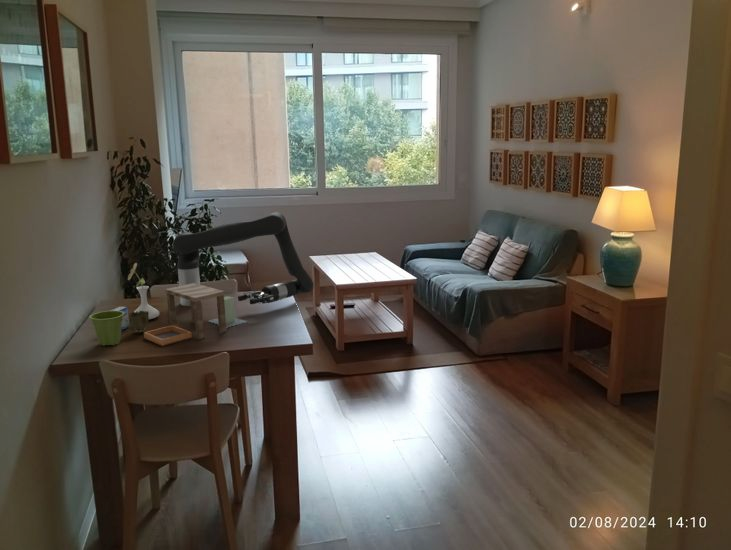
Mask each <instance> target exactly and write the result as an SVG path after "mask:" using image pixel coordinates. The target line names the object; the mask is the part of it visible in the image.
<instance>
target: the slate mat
mask: <svg viewBox="0 0 731 550" xmlns="http://www.w3.org/2000/svg"><path fill="white" fill-rule="evenodd" d="M210 322H211V323H210ZM246 322H248V321H247V320H244V319H241V318H237V317H235V321H233V322H230V323H226V327H227V328H226V329H229V328H228V327H230V328H232V327H231V326H233V327H236V326H235V325H237V326H239V325H238V324H241V325H243V324H242V323H244V324H247V323H246ZM207 323H210V324H213V323H214V324H213V325H216V324H217V326H219V322H218V317H217V318H214V319H209V320H207Z"/></svg>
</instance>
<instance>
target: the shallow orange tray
mask: <svg viewBox="0 0 731 550" xmlns="http://www.w3.org/2000/svg"><path fill="white" fill-rule="evenodd" d="M192 336H193V335H192V332H191V331H189V330H187V329H184V328H181V327H178V326H177V327H176V326H173V325H171V326H170V325H167V326H164V327H160V328H156V329H152V330H148V331H145V332H143V339H144V338H145V339H144V340H146V339H147V341H149V340H150V341H149V342H151V341H152V342H151V343H153V342H154V344H157V345H158V346H161V347H165V346H170V345H173V344H177V343H180V342H184V341H187V340H191V339H192V338H193V337H192ZM190 338H191V339H190ZM186 339H187V340H186ZM183 340H184V341H183ZM179 341H180V342H179ZM176 342H177V343H176Z"/></svg>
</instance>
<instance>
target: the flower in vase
mask: <svg viewBox="0 0 731 550" xmlns="http://www.w3.org/2000/svg"><path fill="white" fill-rule="evenodd" d="M137 266H138V263H137V262H135V263H134V264H133V266H132V268H131V269H130V273H129V274H128V275H127V279H126V280H128V281H130V280H131V279H132V277H133V275H134V274H135V275H136V277H137V278H138V282H137V283H136V286H135V287H136V290H137V291H138V292H139V295H140V304H139V306H138V308H136V309H135V310H134V311H133V312H135V313H136V312H138V313H139V312H140V311H144V312H145V311H146V312H147V311H148V312H149V314H148V321H149V320H152V319H155V318H158V317H159V316H160V311H159V310H158V309H156V308H154V307H153V306H151V305H150V304H149V303H148V298H147V292H148V289H150V287H149V286H148V285H145V284H146V281H145V279H144V278H143V277H141V278H140V277H139V275H138V273H137V272H136V269H137Z"/></svg>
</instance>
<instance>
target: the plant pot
mask: <svg viewBox="0 0 731 550" xmlns="http://www.w3.org/2000/svg"><path fill="white" fill-rule="evenodd" d="M123 315H124V312H122V311H110V310H104V311H99V312H96V313H95V312H94V313H93V314H91V315H89V319H91V322H92V325H93V326H94V330H95V333H96V336H97V340H98V344H99V345H100V344H102V345H107V346H109V345H113V344H116V343H118V344H120V343H121V336H122V335H121V334H122V331H121V323H122V317H123ZM116 345H117V344H116ZM113 346H114V345H113Z"/></svg>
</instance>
